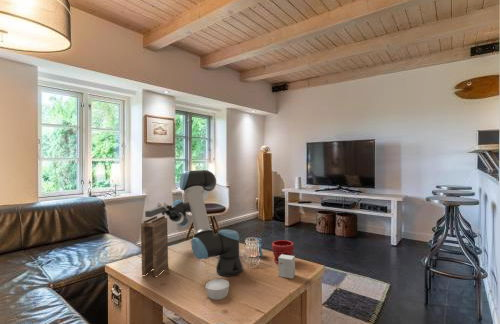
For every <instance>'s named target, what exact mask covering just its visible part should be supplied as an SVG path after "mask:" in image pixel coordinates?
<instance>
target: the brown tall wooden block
mask: <svg viewBox="0 0 500 324" xmlns="http://www.w3.org/2000/svg"><path fill="white" fill-rule="evenodd" d="M168 233H169V232H168V217H166V216H165V215H162V216H161V217H158V216H157V215H155V216H152V217H148V218H147V219H144V220H143V221H142V222H140V237H141V238H140V240H141V241H140V242H141V243H140V244H141V246H140V247H141V248H140V249H141V251H140V252H141V276H142V275H146V274H147V273H149V272H150V271H151V270H152V269H154V270H153V277H154V276H158V275H159V274H160V273H161V272H162V271H163V270H165V269H166V268H167V267H168V268H169V249H168V248H169V247H168V246H169V245H168V244H169V241H168V235H169V234H168ZM168 268H167V269H168ZM167 269H166V270H167ZM166 270H165V271H166ZM149 274H150V273H149ZM159 276H160V275H159ZM159 276H158V277H159Z"/></svg>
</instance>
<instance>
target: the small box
mask: <svg viewBox="0 0 500 324" xmlns="http://www.w3.org/2000/svg"><path fill="white" fill-rule="evenodd" d="M277 265H278V266H277V267H278V277H280V278H285V279H286V278H287V279H294V277H295V276H296V257H295V255H292V256H290V255H283V254H281V255H280V256H279V258H278V263H277Z"/></svg>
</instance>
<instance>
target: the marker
mask: <svg viewBox="0 0 500 324" xmlns="http://www.w3.org/2000/svg"><path fill="white" fill-rule="evenodd" d="M164 211H167V210H166V209H165V208H164V207H163V204H162V205H161V206H159V207H157V206H156V207H153V208H151V209H147V210H145V212H144V213H145V214H144V215H145V218H152V217H154V216H157V215H160V214H162V212H164Z"/></svg>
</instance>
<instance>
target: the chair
mask: <svg viewBox="0 0 500 324" xmlns="http://www.w3.org/2000/svg"><path fill="white" fill-rule="evenodd" d="M252 238H257V239H256V240H258V241H259V242H257V244H259V252H258V253H260V256H261V257H263V251H262V243H261V242H262V238H259V237H256V236H254V237H252ZM261 257H260V258H261Z"/></svg>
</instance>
